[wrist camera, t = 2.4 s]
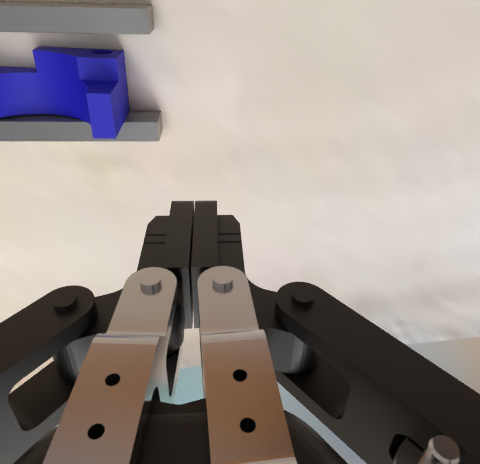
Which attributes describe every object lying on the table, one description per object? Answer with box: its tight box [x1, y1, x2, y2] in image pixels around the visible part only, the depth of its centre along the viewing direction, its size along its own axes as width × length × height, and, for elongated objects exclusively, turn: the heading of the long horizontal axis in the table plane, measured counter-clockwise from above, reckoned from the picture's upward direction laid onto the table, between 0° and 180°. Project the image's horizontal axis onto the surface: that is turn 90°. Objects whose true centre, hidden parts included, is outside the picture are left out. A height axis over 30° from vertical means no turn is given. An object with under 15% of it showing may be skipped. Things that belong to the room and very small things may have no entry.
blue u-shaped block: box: [0, 47, 130, 139], centre depth 29 cm, size 12×4×6 cm, turn 87°
